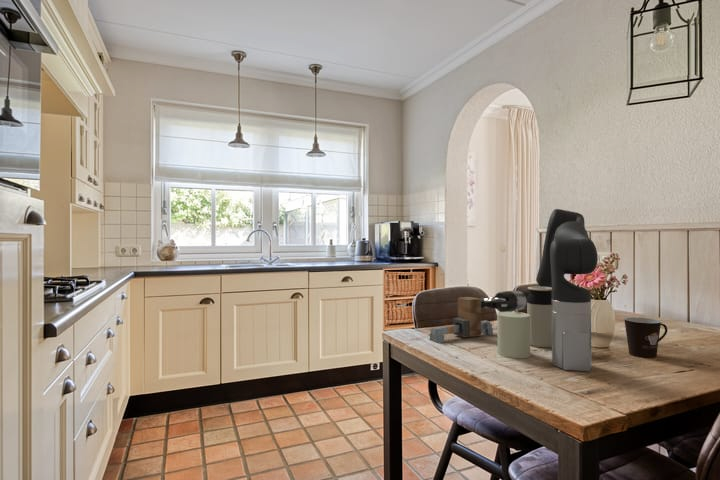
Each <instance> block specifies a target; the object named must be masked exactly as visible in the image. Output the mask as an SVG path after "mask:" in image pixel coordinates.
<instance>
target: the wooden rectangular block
mask: <svg viewBox="0 0 720 480" xmlns="http://www.w3.org/2000/svg"><path fill="white" fill-rule="evenodd" d="M457 318H462V319H466V320H469V337H470V338H471V337H472V338H473V337H478V336H482V333H481V321H482V308H481V299H479V298H477V297H472V296H463V297H462V296H461V297H457ZM469 337H468V338H469Z"/></svg>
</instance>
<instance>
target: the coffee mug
mask: <svg viewBox="0 0 720 480" xmlns="http://www.w3.org/2000/svg"><path fill="white" fill-rule="evenodd" d="M623 321H624V326H625V327H624V328H625V333H626V340H627V348H628V354H629V355H630V356H632V357H636V358H640V359H641V358H642V359H656V358H657V357H658V356H657V355H658V349H659V342H661V341H662V340H663V339H664V338H665V337H666V336H667V334H668V326H667V325H666V324H665V323H664V324H663V323H662V321H661V320H659V319H653V318H648V317H639V316H638V317H637V316H636V317H635V316H629V317H628V316H627V317H624V318H623ZM661 326H662V327H663V328H664V333H663V334H662V335H661V336H660V333H661Z"/></svg>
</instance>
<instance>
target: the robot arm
mask: <svg viewBox="0 0 720 480" xmlns="http://www.w3.org/2000/svg"><path fill="white" fill-rule="evenodd" d="M545 231H546V232H545V238H544V243H543V250H542V256H541V261H540V264H539V268H538V271H537V274H536V275H537V276H536V279H535V281H536V283H537V285H538V286H539V287H551V288H552V347H551V363H552V365H553V366H554V367H557V368H560V369H562V370H565V371H579V372H580V371H581V372H582V371H583V372H591V369H592V367H593V365H592V364H593V363H592V354H593V353H592V293H591V291H590V289H587V288H586V287H582V286H579V285H577V284H574V283H572V282H571V281H569V280H568V279H566V278H565V275H588V274H591V273H593V272H594V271H595V270H596V268H597V266H598V259H599V258H598V257H599V256H598V250H597V248H596V245H595V243H594V241H593V240H592V239H591V238H590V237H589V233H588V231H587V229H586V226H585V217H584V215H583V214H581V213H579V212H576V211H570V210H564V209H560V208H555V209H553V211H552V212H551V214H550V216H549V219H548V223H547V227H546V230H545ZM534 286H535V285H532V286H531V285H530V287H534ZM528 295H529V289H528V287H527V288H525V289H522V290H506V291H498V292H497V293H496V294H495V295H494V296H489V297H485V298H484V297H483V296H482V297H480V298H479V299H481V309H482V308H483V309H490V310H497V311H498V312H519V311H521V310H527V297H528Z"/></svg>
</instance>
